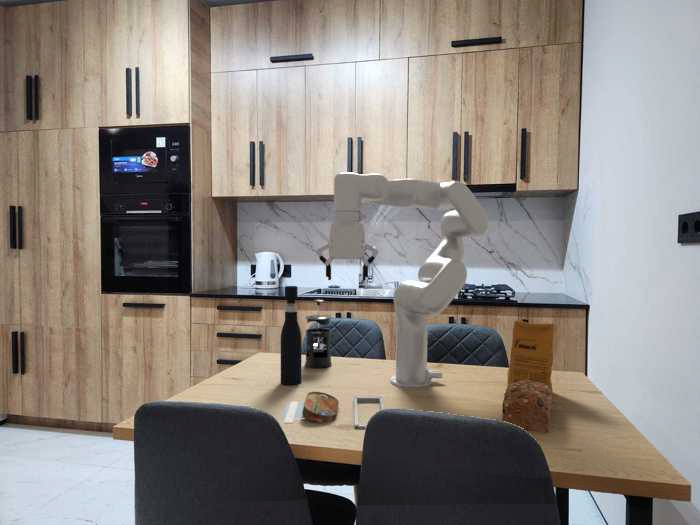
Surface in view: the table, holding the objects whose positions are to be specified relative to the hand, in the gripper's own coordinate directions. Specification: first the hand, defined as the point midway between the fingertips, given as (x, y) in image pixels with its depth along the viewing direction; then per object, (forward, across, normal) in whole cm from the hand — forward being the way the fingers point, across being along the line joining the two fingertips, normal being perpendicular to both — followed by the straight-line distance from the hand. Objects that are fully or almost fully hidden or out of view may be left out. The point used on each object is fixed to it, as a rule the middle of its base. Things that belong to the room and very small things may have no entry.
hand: (346, 279), depth 132 cm
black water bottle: (+34, +17, -12) cm, 39 cm away
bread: (+34, -44, +19) cm, 59 cm away
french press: (+34, +10, -34) cm, 49 cm away
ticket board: (+33, +12, +15) cm, 38 cm away
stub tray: (+33, -6, +16) cm, 37 cm away
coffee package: (+34, -52, 0) cm, 62 cm away
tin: (+32, +2, +15) cm, 36 cm away
